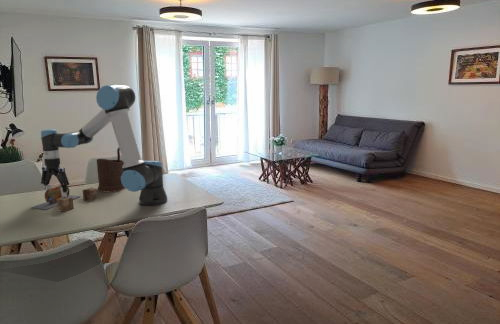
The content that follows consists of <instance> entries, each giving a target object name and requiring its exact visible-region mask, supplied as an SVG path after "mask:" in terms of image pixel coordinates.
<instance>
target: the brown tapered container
mask: <svg viewBox="0 0 500 324" xmlns="http://www.w3.org/2000/svg"><path fill="white" fill-rule="evenodd" d="M116 152H117V159H106V158H97V159H96V167H97V169H96V170H97V178H98V187H97V188H96V189H97V191H98V192H101V191H102V192H101V193H103V192H104V193H111V192H119V191H123V190H127V189H126V188H125V187H124V186H123V185H122V183H121V176H122V173H123V170H122V166H123V165H124V162H123V159H121V152H120V149H119V146H118V147H117V149H116Z"/></svg>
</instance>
